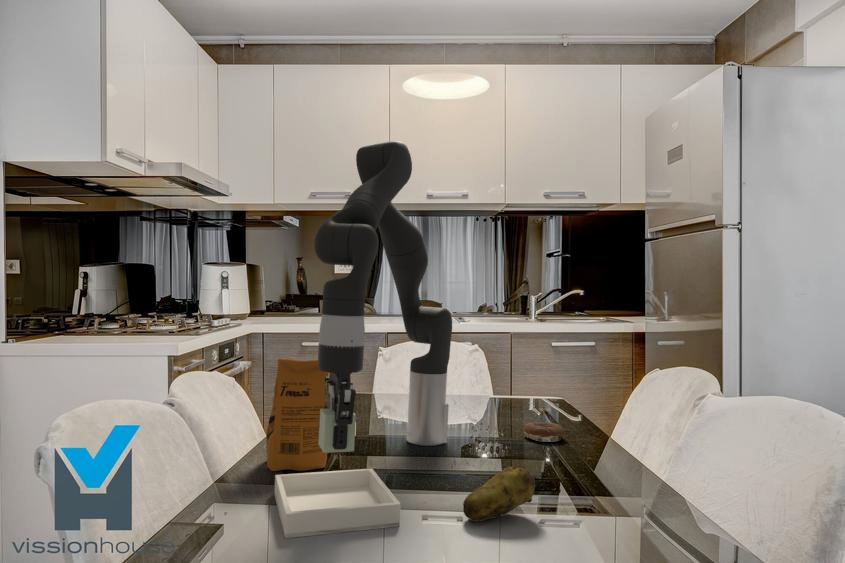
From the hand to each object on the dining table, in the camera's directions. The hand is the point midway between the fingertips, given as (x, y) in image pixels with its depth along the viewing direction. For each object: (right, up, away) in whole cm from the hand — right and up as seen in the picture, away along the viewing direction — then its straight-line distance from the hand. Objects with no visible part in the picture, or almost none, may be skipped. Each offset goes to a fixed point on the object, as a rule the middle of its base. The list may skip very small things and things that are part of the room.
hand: (336, 443), depth 93 cm
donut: (+46, -15, +53) cm, 72 cm away
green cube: (0, -1, 0) cm, 1 cm away
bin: (0, -11, 0) cm, 11 cm away
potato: (+27, -12, 0) cm, 30 cm away
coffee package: (-12, -11, +22) cm, 28 cm away
